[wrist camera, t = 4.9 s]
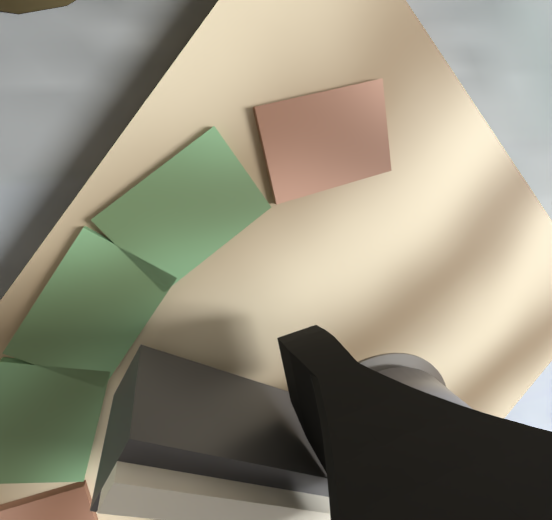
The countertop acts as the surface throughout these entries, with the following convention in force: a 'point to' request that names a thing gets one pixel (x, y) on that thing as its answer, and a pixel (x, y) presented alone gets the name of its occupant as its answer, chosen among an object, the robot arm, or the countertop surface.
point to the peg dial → (213, 445)
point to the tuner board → (277, 236)
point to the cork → (31, 5)
